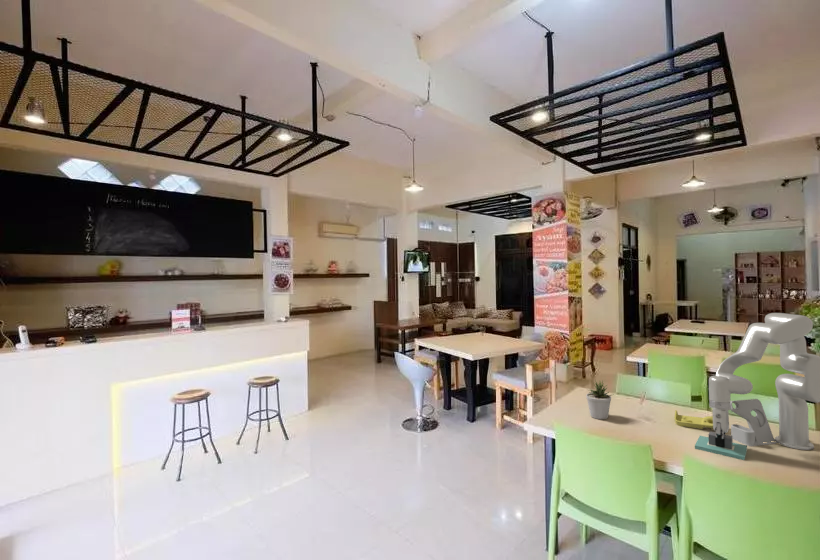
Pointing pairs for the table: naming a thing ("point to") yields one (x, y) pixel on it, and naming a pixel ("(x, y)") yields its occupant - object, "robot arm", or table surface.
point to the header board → (735, 452)
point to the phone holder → (751, 424)
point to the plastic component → (693, 421)
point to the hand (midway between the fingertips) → (720, 444)
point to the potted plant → (599, 402)
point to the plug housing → (727, 438)
